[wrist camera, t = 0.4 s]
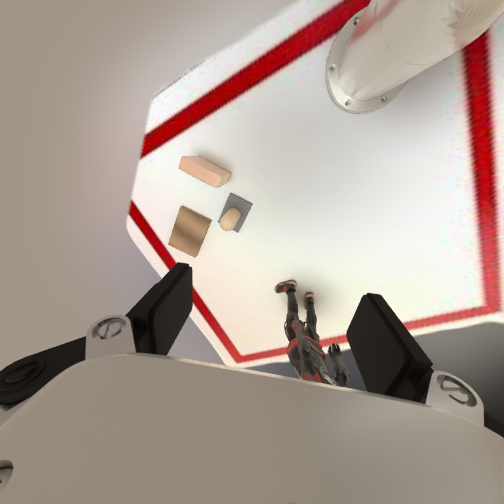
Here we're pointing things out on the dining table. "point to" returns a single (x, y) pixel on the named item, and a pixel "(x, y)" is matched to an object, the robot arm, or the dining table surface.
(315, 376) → the action figure
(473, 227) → the dining table surface
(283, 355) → the dining table surface
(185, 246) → the board
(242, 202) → the float
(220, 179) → the tile
